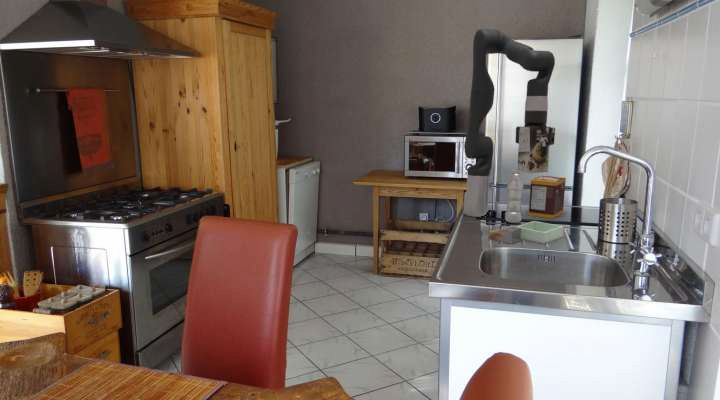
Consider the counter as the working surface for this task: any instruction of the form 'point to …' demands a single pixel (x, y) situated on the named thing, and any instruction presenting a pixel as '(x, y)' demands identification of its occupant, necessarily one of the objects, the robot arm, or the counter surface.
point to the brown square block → (497, 235)
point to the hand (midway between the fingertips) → (533, 156)
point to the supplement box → (547, 196)
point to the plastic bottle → (514, 199)
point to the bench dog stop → (512, 235)
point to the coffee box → (531, 151)
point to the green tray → (540, 232)
